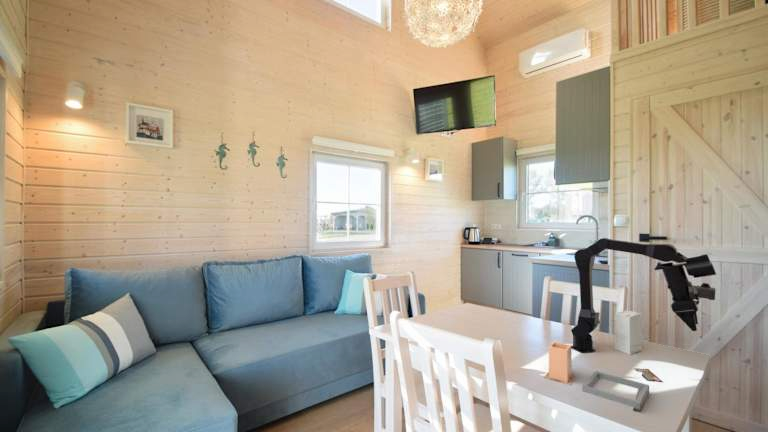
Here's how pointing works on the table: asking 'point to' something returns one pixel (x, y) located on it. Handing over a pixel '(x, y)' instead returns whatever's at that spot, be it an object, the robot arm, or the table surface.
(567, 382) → the stake block
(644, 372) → the chocolate bar
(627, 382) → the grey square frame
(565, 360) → the sleeve
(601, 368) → the table surface
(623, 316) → the skincare box
